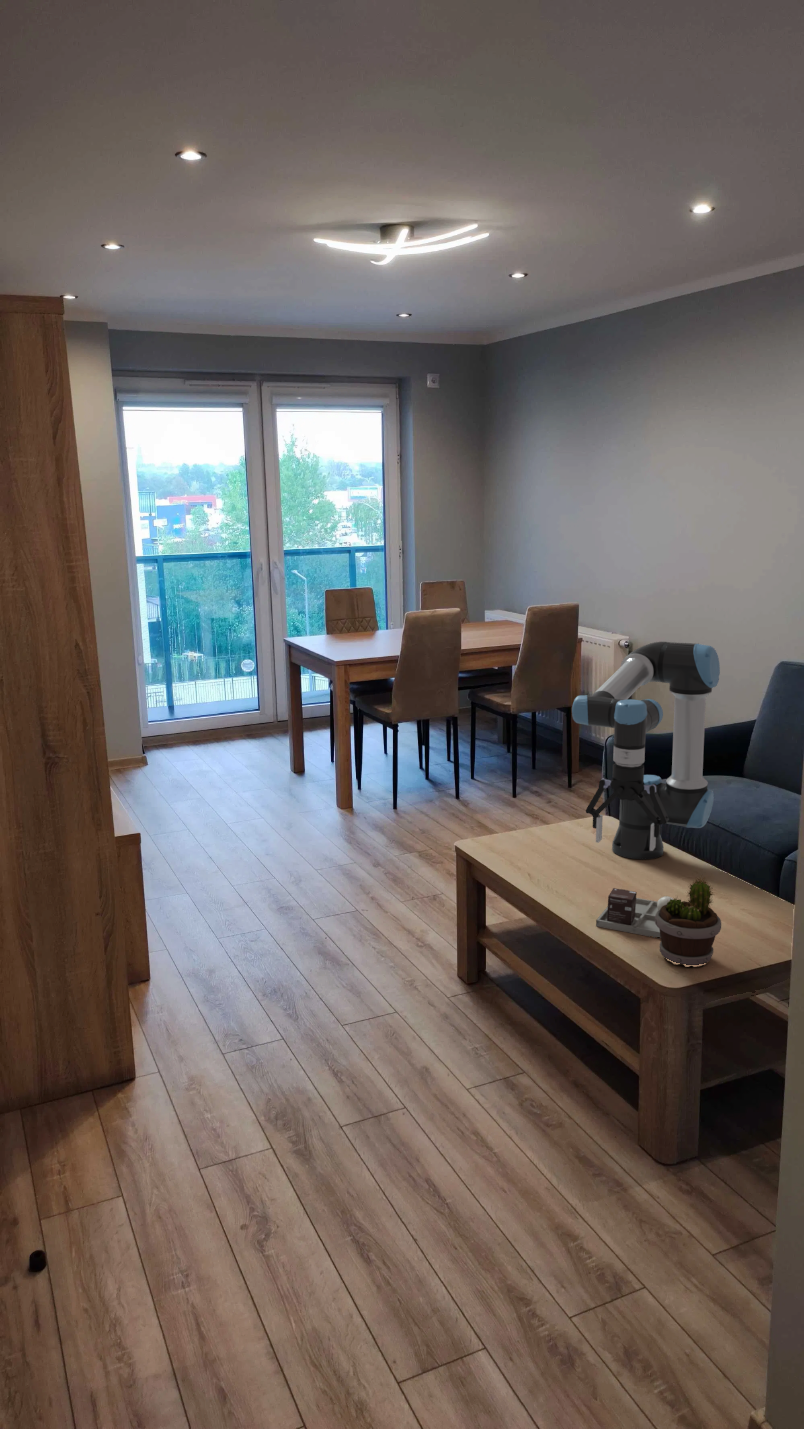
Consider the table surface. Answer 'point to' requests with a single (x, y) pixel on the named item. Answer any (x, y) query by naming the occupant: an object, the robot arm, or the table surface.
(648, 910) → the egg tray
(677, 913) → the flowerpot
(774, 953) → the table surface
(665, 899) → the egg
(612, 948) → the table surface
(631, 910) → the box
